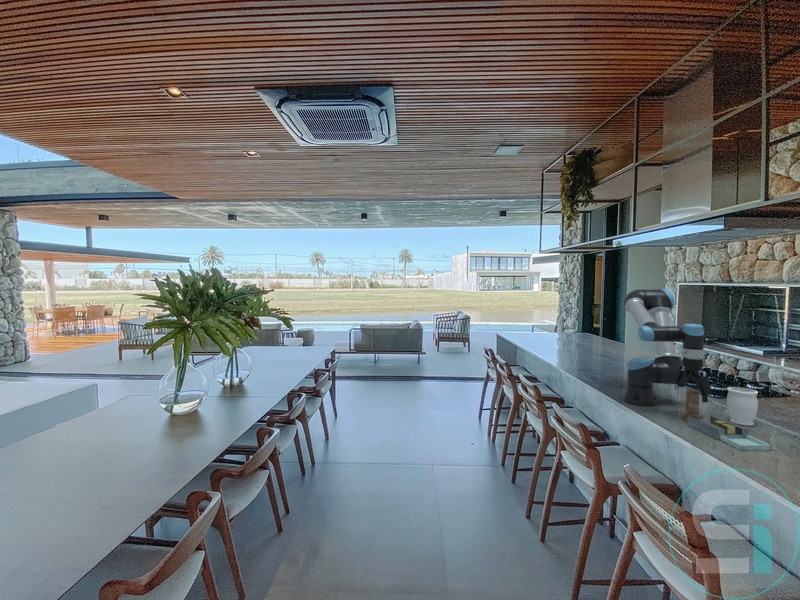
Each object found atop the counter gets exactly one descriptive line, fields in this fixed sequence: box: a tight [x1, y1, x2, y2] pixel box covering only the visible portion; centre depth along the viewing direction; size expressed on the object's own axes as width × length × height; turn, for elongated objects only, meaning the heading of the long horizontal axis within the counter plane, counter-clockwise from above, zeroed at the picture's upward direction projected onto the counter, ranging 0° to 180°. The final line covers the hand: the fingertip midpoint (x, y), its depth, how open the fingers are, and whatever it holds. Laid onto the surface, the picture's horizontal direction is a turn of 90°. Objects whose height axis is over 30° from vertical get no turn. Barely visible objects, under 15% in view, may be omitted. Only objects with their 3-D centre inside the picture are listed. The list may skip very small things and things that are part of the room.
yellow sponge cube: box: [721, 424, 735, 434], centre depth 156 cm, size 3×3×3 cm
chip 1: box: [714, 421, 727, 428], centre depth 160 cm, size 3×3×3 cm
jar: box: [726, 386, 759, 427], centre depth 172 cm, size 11×10×15 cm
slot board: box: [688, 415, 750, 441], centre depth 162 cm, size 16×12×4 cm
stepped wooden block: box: [681, 389, 703, 423], centre depth 176 cm, size 5×6×14 cm
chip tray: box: [718, 434, 772, 452], centre depth 149 cm, size 10×11×2 cm
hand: (692, 404), depth 176 cm, fingers open, 12 cm apart
